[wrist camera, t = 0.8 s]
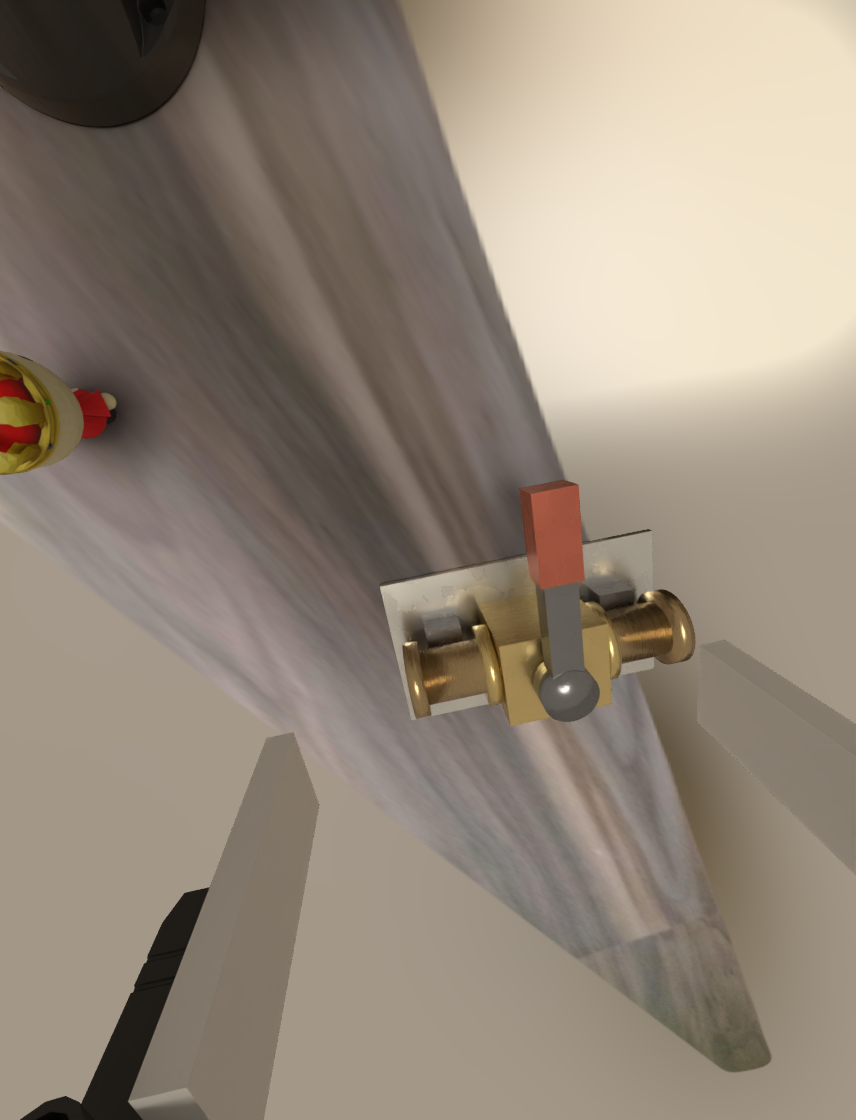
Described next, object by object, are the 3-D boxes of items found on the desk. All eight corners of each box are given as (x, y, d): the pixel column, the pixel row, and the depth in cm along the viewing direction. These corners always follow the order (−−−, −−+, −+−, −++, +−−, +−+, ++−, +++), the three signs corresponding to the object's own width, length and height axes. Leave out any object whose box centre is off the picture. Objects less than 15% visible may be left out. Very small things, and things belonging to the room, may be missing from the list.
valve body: (411, 716, 40) (416, 783, 33) (380, 584, 36) (377, 626, 28) (650, 664, 41) (709, 718, 34) (648, 529, 37) (716, 556, 29)
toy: (117, 348, 29) (-143, 274, 15) (168, 450, 31) (-16, 472, 17) (19, 379, 29) (-335, 335, 15) (76, 479, 31) (-183, 524, 17)
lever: (587, 695, 31) (602, 716, 29) (535, 706, 31) (546, 728, 29) (571, 477, 26) (588, 482, 24) (509, 490, 26) (520, 496, 24)
